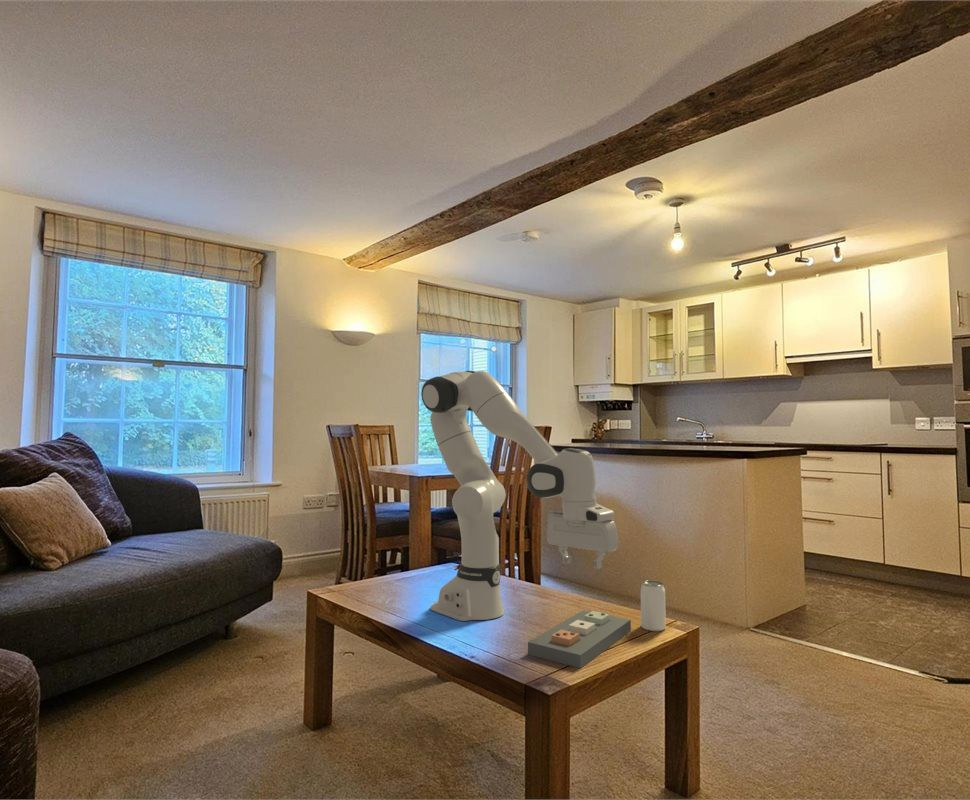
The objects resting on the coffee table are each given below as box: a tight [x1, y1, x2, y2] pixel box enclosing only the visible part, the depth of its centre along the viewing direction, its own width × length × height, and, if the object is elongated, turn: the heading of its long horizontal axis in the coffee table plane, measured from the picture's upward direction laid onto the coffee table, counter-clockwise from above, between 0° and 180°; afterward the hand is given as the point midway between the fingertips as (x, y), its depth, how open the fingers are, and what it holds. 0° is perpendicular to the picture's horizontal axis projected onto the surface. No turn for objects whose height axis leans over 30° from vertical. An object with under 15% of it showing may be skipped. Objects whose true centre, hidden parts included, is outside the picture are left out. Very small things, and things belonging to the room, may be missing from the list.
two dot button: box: [584, 610, 611, 626], centre depth 157 cm, size 5×5×3 cm
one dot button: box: [569, 620, 595, 636], centre depth 150 cm, size 5×5×3 cm
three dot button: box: [551, 630, 579, 647], centre depth 142 cm, size 5×5×3 cm
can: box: [640, 580, 667, 632], centre depth 161 cm, size 6×6×12 cm
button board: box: [527, 609, 632, 669], centre depth 150 cm, size 14×30×3 cm, turn 144°
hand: (582, 565), depth 151 cm, fingers open, 8 cm apart
